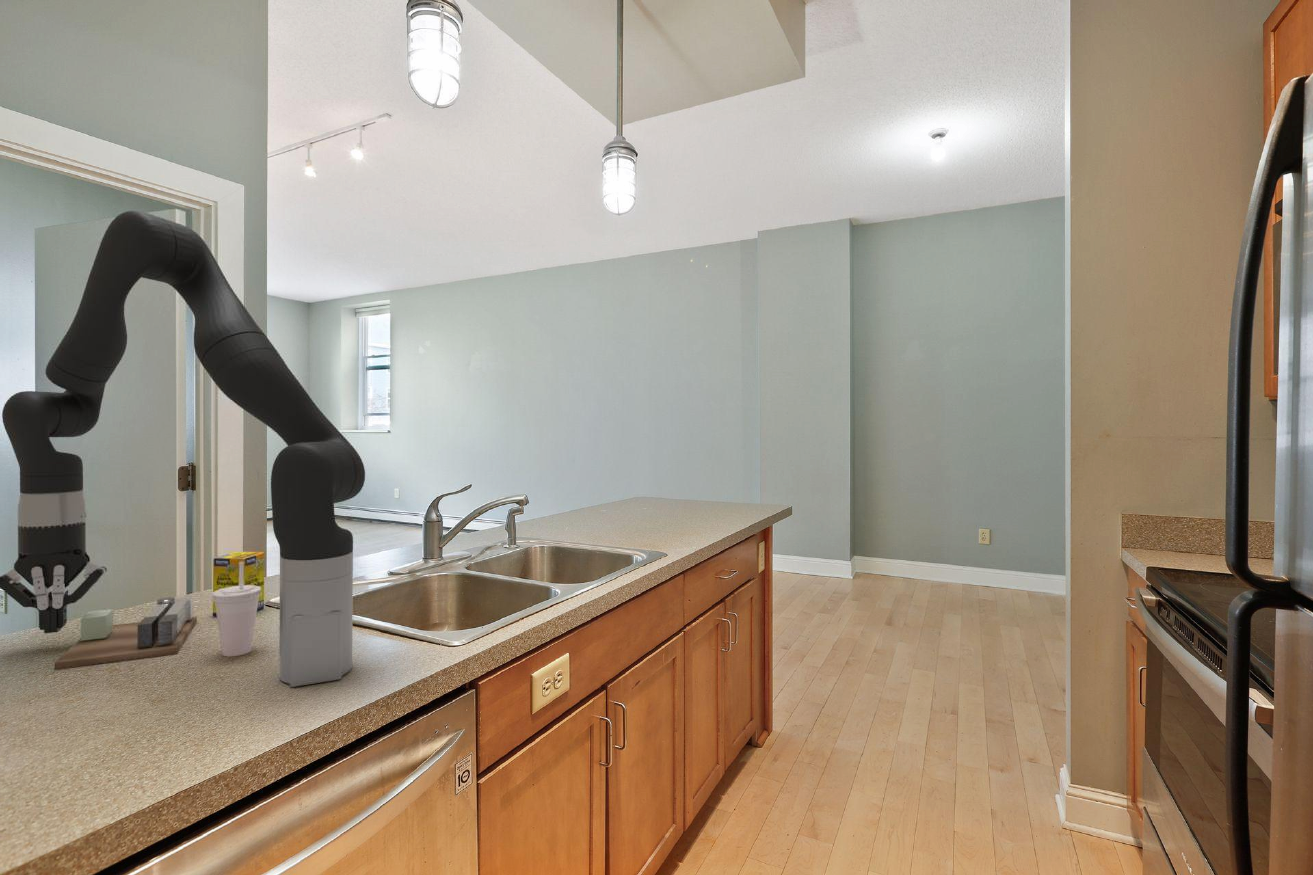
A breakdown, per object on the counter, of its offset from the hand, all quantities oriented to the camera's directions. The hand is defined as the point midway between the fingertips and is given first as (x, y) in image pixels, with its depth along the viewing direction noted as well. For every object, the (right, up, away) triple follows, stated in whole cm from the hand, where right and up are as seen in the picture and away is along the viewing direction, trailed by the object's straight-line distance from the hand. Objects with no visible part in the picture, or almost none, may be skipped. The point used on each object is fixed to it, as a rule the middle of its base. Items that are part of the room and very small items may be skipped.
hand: (53, 631), depth 96 cm
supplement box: (+16, -3, +19) cm, 25 cm away
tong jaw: (+13, -2, +3) cm, 14 cm away
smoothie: (+29, -3, 0) cm, 29 cm away
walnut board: (+10, -3, +3) cm, 11 cm away
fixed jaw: (+14, -2, +5) cm, 15 cm away
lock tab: (+4, -1, +3) cm, 5 cm away
